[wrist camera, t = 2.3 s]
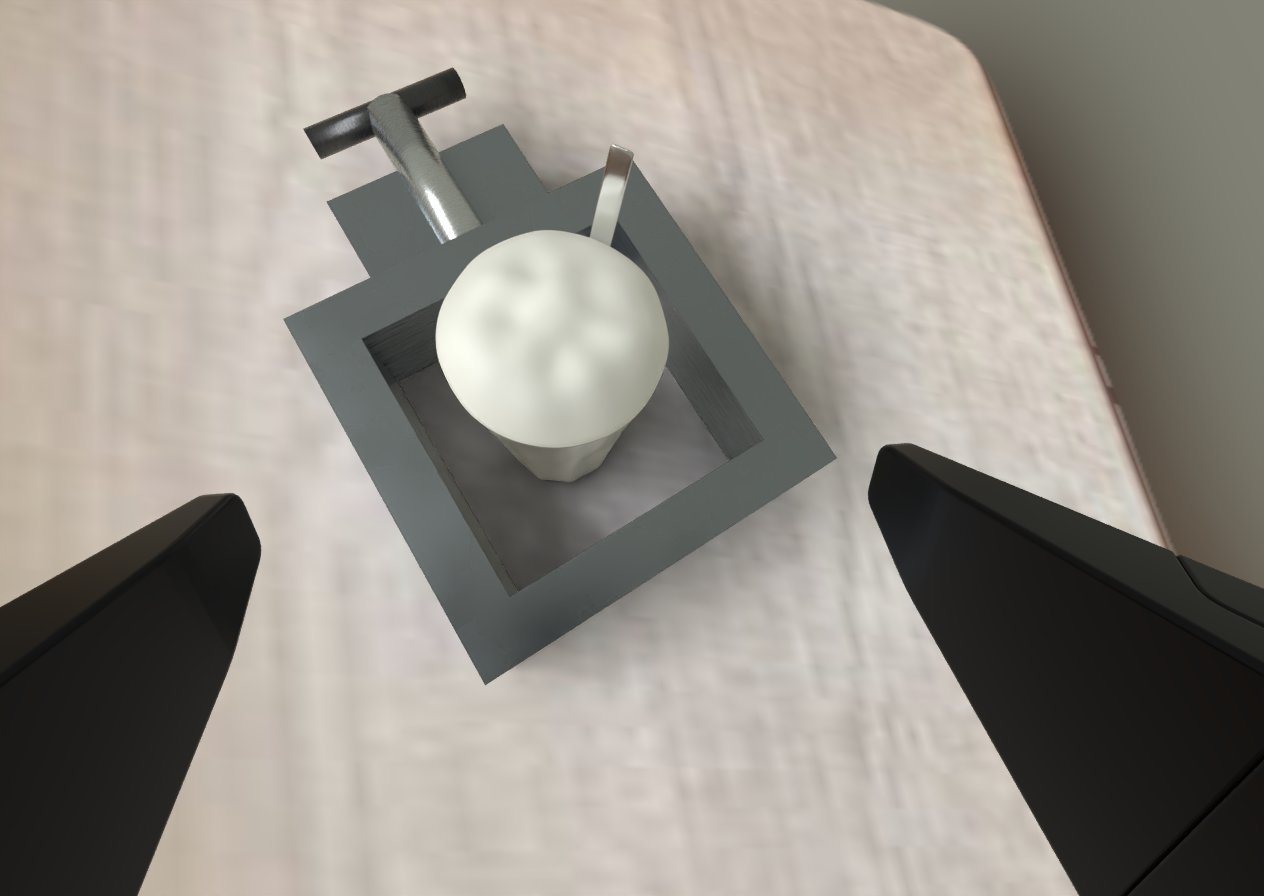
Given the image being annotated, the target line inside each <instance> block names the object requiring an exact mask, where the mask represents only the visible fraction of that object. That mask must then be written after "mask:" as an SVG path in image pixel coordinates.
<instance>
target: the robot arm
mask: <svg viewBox="0 0 1264 896" xmlns="http://www.w3.org/2000/svg"><path fill="white" fill-rule="evenodd" d="M868 500H869V504H870V507H871V509H872V512H873V514H874V516H875V519H876V521H877V523H878V526H879V528H880V530H881V533H882V535H883V537H884V540H885V542H886V544H887V547H888V549H889V551H890V554H891V556H892V558H893V561H894V563H895V565H896V568H897V570H898V572H899V575H900V577H901V579H902V581H903V583H904V585H905V588H906V590H907V592H908V593H909V595H910V597H911V599H912V601H913V603H914V605H915V606H916V608H917V610H918V612H919V614H920V615H921V617H922V619H923V621H924V622H925V624H926V626H927V628H928V629H929V631H930V633H931V635H932V637H933V638H934V640H935V642H936V644H937V645H938V647H939V649H940V651H941V652H942V654H943V656H944V658H945V660H946V661H947V663H948V665H949V667H950V668H951V670H952V672H953V674H954V675H955V677H956V679H957V681H958V683H959V684H960V686H961V688H962V690H963V691H964V693H965V695H966V697H967V698H968V700H969V702H970V704H971V706H972V707H973V709H974V711H975V713H976V714H977V716H978V718H979V720H980V721H981V723H982V725H983V727H984V729H985V730H986V732H987V734H988V736H989V737H990V739H991V741H992V743H993V744H994V746H995V748H996V750H997V752H998V753H999V755H1000V757H1001V759H1002V760H1003V762H1004V764H1005V766H1006V767H1007V769H1008V771H1009V773H1010V775H1011V776H1012V778H1013V780H1014V782H1015V783H1016V785H1017V787H1018V789H1019V790H1020V792H1021V794H1022V796H1023V798H1024V799H1025V801H1026V803H1027V805H1028V806H1029V808H1030V810H1031V812H1032V813H1033V815H1034V817H1035V819H1036V821H1037V822H1038V824H1039V826H1040V828H1041V829H1042V831H1043V833H1044V835H1045V836H1046V838H1047V840H1048V842H1049V844H1050V845H1051V847H1052V849H1053V851H1054V852H1055V854H1056V856H1057V858H1058V859H1059V861H1060V863H1061V865H1062V867H1063V868H1064V870H1065V872H1066V874H1067V875H1068V877H1069V879H1070V881H1071V882H1072V884H1073V886H1074V888H1075V890H1076V891H1077V893H1078V895H1079V896H1264V589H1263V588H1261V587H1258V586H1255V585H1253V584H1251V583H1248V582H1246V581H1244V580H1241V579H1239V578H1236V577H1234V576H1231V575H1229V574H1226V573H1223V572H1221V571H1219V570H1216V569H1214V568H1211V567H1209V566H1206V565H1204V564H1202V563H1199V562H1197V561H1194V560H1192V559H1190V558H1187V557H1185V556H1182V555H1177V556H1175V554H1174V553H1173V552H1172V551H1170V550H1168V549H1165V548H1163V547H1160V546H1158V545H1155V544H1153V543H1151V542H1148V541H1146V540H1143V539H1141V538H1139V537H1136V536H1134V535H1131V534H1129V533H1127V532H1124V531H1122V530H1119V529H1117V528H1114V527H1112V526H1110V525H1107V524H1105V523H1102V522H1100V521H1098V520H1095V519H1093V518H1090V517H1088V516H1085V515H1083V514H1081V513H1078V512H1076V511H1073V510H1071V509H1069V508H1066V507H1064V506H1061V505H1059V504H1057V503H1054V502H1052V501H1049V500H1047V499H1044V498H1042V497H1040V496H1037V495H1035V494H1032V493H1030V492H1028V491H1025V490H1023V489H1020V488H1018V487H1015V486H1013V485H1011V484H1008V483H1006V482H1003V481H1001V480H999V479H996V478H994V477H991V476H989V475H987V474H984V473H982V472H979V471H977V470H974V469H972V468H970V467H967V466H965V465H962V464H960V463H958V462H955V461H953V460H950V459H948V458H946V457H943V456H941V455H938V454H936V453H933V452H931V451H929V450H926V449H924V448H921V447H919V446H917V445H914V444H911V443H902V444H889V445H885V446H883V447H882V448H881V449H880V451H879V453H878V455H877V459H876V463H875V466H874V470H873V474H872V478H871V481H870V485H869V490H868ZM260 557H261V544H260V540H259V537H258V535H257V532H256V530H255V528H254V525H253V523H252V521H251V518H250V516H249V514H248V511H247V509H246V507H245V505H244V503H243V501H242V499H241V498H240V497H239V496H238V495H236V494H233V493H224V494H210V495H202V496H199V497H197V498H195V499H193V500H191V501H190V502H188V503H186V504H184V505H182V506H181V507H179V508H177V509H175V510H174V511H172V512H170V513H168V514H166V515H165V516H163V517H161V518H159V519H157V520H156V521H154V522H152V523H150V524H148V525H147V526H145V527H143V528H141V529H140V530H138V531H136V532H134V533H132V534H131V535H129V536H127V537H125V538H123V539H122V540H120V541H118V542H116V543H114V544H113V545H111V546H109V547H107V548H105V549H104V550H102V551H100V552H98V553H97V554H95V555H93V556H91V557H89V558H88V559H86V560H84V561H82V562H80V563H79V564H77V565H75V566H73V567H71V568H70V569H68V570H66V571H64V572H63V573H61V574H59V575H57V576H55V577H54V578H52V579H50V580H48V581H46V582H45V583H43V584H41V585H39V586H37V587H36V588H34V589H32V590H30V591H28V592H27V593H25V594H23V595H21V596H20V597H18V598H16V599H14V600H12V601H11V602H9V603H7V604H5V605H3V606H2V607H0V896H138V893H139V891H140V888H141V886H142V883H143V881H144V878H145V876H146V873H147V871H148V868H149V866H150V863H151V861H152V858H153V856H154V854H155V851H156V849H157V846H158V844H159V841H160V839H161V836H162V834H163V831H164V829H165V826H166V824H167V821H168V819H169V816H170V814H171V811H172V809H173V806H174V804H175V801H176V799H177V796H178V794H179V791H180V789H181V787H182V784H183V782H184V779H185V777H186V774H187V772H188V769H189V767H190V764H191V762H192V759H193V757H194V754H195V752H196V749H197V747H198V744H199V742H200V739H201V737H202V734H203V732H204V729H205V727H206V724H207V722H208V720H209V717H210V715H211V712H212V710H213V707H214V705H215V702H216V700H217V697H218V695H219V692H220V690H221V687H222V685H223V682H224V680H225V677H226V675H227V672H228V669H229V667H230V664H231V661H232V659H233V655H234V652H235V649H236V646H237V643H238V639H239V635H240V632H241V628H242V624H243V621H244V617H245V613H246V609H247V606H248V602H249V598H250V595H251V591H252V587H253V584H254V580H255V576H256V573H257V569H258V565H259V562H260Z"/></svg>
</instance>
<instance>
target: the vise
mask: <svg viewBox="0 0 1264 896" xmlns="http://www.w3.org/2000/svg"><path fill="white" fill-rule="evenodd" d="M465 98H466V93H465V89H464V86H463V84H462V82H461V79H460V77H459V75H458V74H457V72H456V70H455V69H454V68H450V69H448V70H445V71H443V72H440V73H438V74H435V75H433V76H430V77H428V78H426V79H423V80H421V81H418V82H416V83H413V84H411V85H409V86H406V87H404V88H401V89H399V90H396V91H394V92H392V93H389V94H383V95H380V96H378V97H377V98H375V99H374V100H372V101H370V102H367V103H365V104H362V105H360V106H357V107H355V108H353V109H350V110H348V111H345V112H343V113H340V114H338V115H336V116H333V117H331V118H328V119H326V120H323V121H321V122H319V123H316V124H314V125H311V126H309V127H306V128H304V131H305V133H306V135H307V136H308V138H309V140H310V141H311V143H312V145H313V147H314V148H315V150H316V152H317V153H318V155H319V157H320V158H321V159H323V158H326V157H328V156H330V155H333V154H335V153H338V152H340V151H342V150H345V149H347V148H349V147H352V146H354V145H356V144H359V143H361V142H363V141H366V140H368V139H371V138H373V137H375V136H376V138H377V139H378V141H379V143H380V144H381V146H382V147H383V149H384V151H385V152H386V154H387V156H388V157H389V159H390V161H391V162H392V164H393V165H394V167H395V169H396V170H397V171H396V172H393V173H391V174H389V175H386V176H384V177H382V178H380V179H377V180H375V181H373V182H371V183H368V184H366V185H364V186H361V187H359V188H357V189H355V190H352V191H350V192H348V193H346V194H343V195H341V196H339V197H336V198H334V199H332V200H330V201H327V204H328V205H329V207H330V209H331V210H332V212H333V214H334V216H335V217H336V219H337V221H338V222H339V224H340V226H341V227H342V229H343V231H344V233H345V234H346V236H347V238H348V239H349V241H350V243H351V245H352V246H353V248H354V250H355V251H356V253H357V255H358V257H359V258H360V260H361V262H362V263H363V265H364V267H365V269H366V270H367V272H368V274H369V275H370V277H371V278H369V279H367V280H365V281H363V282H361V283H358V284H356V285H354V286H352V287H350V288H348V289H346V290H344V291H342V292H339V293H337V294H335V295H333V296H331V297H329V298H327V299H325V300H323V301H321V302H318V303H316V304H314V305H312V306H310V307H308V308H306V309H304V310H302V311H299V312H297V313H295V314H293V315H291V316H289V317H287V318H285V319H283V320H284V321H285V323H286V325H287V327H288V329H289V330H290V332H291V334H292V336H293V338H294V340H295V341H296V343H297V345H298V347H299V349H300V350H301V352H302V354H303V356H304V358H305V359H306V361H307V363H308V365H309V367H310V368H311V370H312V372H313V374H314V376H315V378H316V379H317V381H318V383H319V385H320V387H321V388H322V390H323V392H324V394H325V396H326V397H327V399H328V401H329V403H330V405H331V407H332V408H333V410H334V412H335V414H336V416H337V417H338V419H339V421H340V423H341V425H342V426H343V428H344V430H345V432H346V434H347V436H348V437H349V439H350V441H351V443H352V445H353V446H354V448H355V450H356V452H357V454H358V455H359V457H360V459H361V461H362V463H363V465H364V466H365V468H366V470H367V472H368V474H369V475H370V477H371V479H372V481H373V483H374V484H375V486H376V488H377V490H378V492H379V494H380V495H381V497H382V499H383V501H384V503H385V504H386V506H387V508H388V510H389V512H390V513H391V515H392V517H393V519H394V521H395V523H396V524H397V526H398V528H399V530H400V532H401V533H402V535H403V537H404V539H405V541H406V542H407V544H408V546H409V548H410V550H411V552H412V553H413V555H414V557H415V559H416V561H417V562H418V564H419V566H420V568H421V570H422V571H423V573H424V575H425V577H426V579H427V581H428V582H429V584H430V586H431V588H432V590H433V591H434V593H435V595H436V597H437V599H438V600H439V602H440V604H441V606H442V608H443V610H444V611H445V613H446V615H447V617H448V619H449V620H450V622H451V624H452V626H453V628H454V629H455V631H456V633H457V635H458V637H459V639H460V640H461V642H462V644H463V646H464V648H465V649H466V651H467V653H468V655H469V657H470V658H471V660H472V662H473V664H474V666H475V668H476V669H477V671H478V673H479V675H480V677H481V678H482V680H483V682H484V684H485V685H486V684H488V683H489V682H491V681H493V680H494V679H496V678H497V677H499V676H500V675H502V674H503V673H505V672H506V671H508V670H510V669H511V668H513V667H514V666H516V665H517V664H519V663H520V662H522V661H524V660H525V659H527V658H528V657H530V656H531V655H533V654H534V653H536V652H537V651H539V650H541V649H542V648H544V647H545V646H547V645H548V644H550V643H551V642H553V641H555V640H556V639H558V638H559V637H561V636H562V635H564V634H565V633H567V632H568V631H570V630H572V629H573V628H575V627H576V626H578V625H579V624H581V623H582V622H584V621H585V620H587V619H589V618H590V617H592V616H593V615H595V614H596V613H598V612H599V611H601V610H603V609H604V608H606V607H607V606H609V605H610V604H612V603H613V602H615V601H616V600H618V599H620V598H621V597H623V596H624V595H626V594H627V593H629V592H630V591H632V590H634V589H635V588H637V587H638V586H640V585H641V584H643V583H644V582H646V581H647V580H649V579H651V578H652V577H654V576H655V575H657V574H658V573H660V572H661V571H663V570H665V569H666V568H668V567H669V566H671V565H672V564H674V563H675V562H677V561H678V560H680V559H682V558H683V557H685V556H686V555H688V554H689V553H691V552H692V551H694V550H695V549H697V548H699V547H700V546H702V545H703V544H705V543H706V542H708V541H709V540H711V539H713V538H714V537H716V536H717V535H719V534H720V533H722V532H723V531H725V530H726V529H728V528H730V527H731V526H733V525H734V524H736V523H737V522H739V521H740V520H742V519H744V518H745V517H747V516H748V515H750V514H751V513H753V512H754V511H756V510H757V509H759V508H761V507H762V506H764V505H765V504H767V503H768V502H770V501H771V500H773V499H775V498H776V497H778V496H779V495H781V494H782V493H784V492H785V491H787V490H788V489H790V488H792V487H793V486H795V485H796V484H798V483H799V482H801V481H802V480H804V479H805V478H807V477H809V476H810V475H812V474H813V473H815V472H816V471H818V470H819V469H821V468H823V467H824V466H826V465H827V464H829V463H830V462H832V461H833V460H835V459H836V458H837V457H836V456H835V454H834V453H833V451H832V450H831V449H830V447H829V446H828V444H827V443H826V441H825V440H824V438H823V437H822V435H821V434H820V432H819V431H818V430H817V428H816V427H815V425H814V424H813V422H812V421H811V419H810V418H809V416H808V415H807V414H806V412H805V411H804V409H803V408H802V406H801V405H800V403H799V402H798V400H797V399H796V397H795V396H794V395H793V393H792V392H791V390H790V389H789V387H788V386H787V384H786V383H785V381H784V380H783V378H782V377H781V376H780V374H779V373H778V371H777V370H776V368H775V367H774V365H773V364H772V362H771V361H770V360H769V358H768V357H767V355H766V354H765V352H764V351H763V349H762V348H761V346H760V345H759V343H758V342H757V341H756V339H755V338H754V336H753V335H752V333H751V332H750V330H749V329H748V327H747V326H746V324H745V323H744V322H743V320H742V319H741V317H740V316H739V314H738V313H737V311H736V310H735V308H734V307H733V306H732V304H731V303H730V301H729V300H728V298H727V297H726V295H725V294H724V292H723V291H722V289H721V288H720V287H719V285H718V284H717V282H716V281H715V279H714V278H713V276H712V275H711V273H710V272H709V270H708V269H707V268H706V266H705V265H704V263H703V262H702V260H701V259H700V257H699V256H698V254H697V253H696V252H695V250H694V249H693V247H692V246H691V244H690V243H689V241H688V240H687V238H686V237H685V235H684V234H683V233H682V231H681V230H680V228H679V227H678V225H677V224H676V222H675V221H674V219H673V218H672V216H671V215H670V214H669V212H668V211H667V209H666V208H665V206H664V205H663V203H662V202H661V200H660V199H659V198H658V196H657V195H656V193H655V192H654V190H653V189H652V187H651V186H650V184H649V183H648V181H647V180H646V179H645V177H644V176H643V174H642V173H641V171H640V170H639V168H638V167H637V165H636V164H635V163H634V161H632V165H631V169H630V173H629V177H628V181H627V185H626V189H625V193H624V196H623V200H622V204H621V208H620V212H619V216H618V220H617V223H616V227H615V231H614V235H613V239H612V243H611V247H612V248H613V249H615V250H617V251H618V252H620V253H621V254H623V255H624V256H626V257H627V258H629V259H630V260H631V261H632V262H634V263H635V264H636V265H637V266H638V267H639V268H640V269H641V270H642V271H643V272H644V273H645V274H646V276H647V277H648V278H649V280H650V281H651V283H652V284H653V286H654V288H655V290H656V292H657V295H658V297H659V300H660V303H661V306H662V310H663V313H664V317H665V321H666V325H667V329H668V336H669V350H668V356H667V361H666V365H667V367H668V368H669V370H670V371H671V373H672V374H673V376H674V378H675V379H676V381H677V382H678V384H679V385H680V387H681V388H682V390H683V391H684V393H685V394H686V396H687V397H688V399H689V400H690V402H691V403H692V405H693V407H694V408H695V410H696V411H697V413H698V414H699V416H700V417H701V419H702V420H703V422H704V423H705V425H706V426H707V428H708V429H709V431H710V433H711V434H712V436H713V437H714V439H715V440H716V442H717V443H718V445H719V446H720V448H721V449H722V451H723V452H724V454H725V455H726V457H727V458H728V460H729V462H727V463H726V464H724V465H722V466H721V467H719V468H718V469H716V470H714V471H713V472H711V473H710V474H708V475H706V476H705V477H703V478H701V479H700V480H698V481H697V482H695V483H693V484H692V485H690V486H689V487H687V488H685V489H684V490H682V491H680V492H679V493H677V494H676V495H674V496H672V497H671V498H669V499H667V500H666V501H664V502H663V503H661V504H659V505H658V506H656V507H655V508H653V509H651V510H650V511H648V512H646V513H645V514H643V515H642V516H640V517H638V518H637V519H635V520H634V521H632V522H630V523H629V524H627V525H625V526H624V527H622V528H621V529H619V530H617V531H616V532H614V533H613V534H611V535H609V536H608V537H606V538H604V539H603V540H601V541H600V542H598V543H596V544H595V545H593V546H591V547H590V548H588V549H587V550H585V551H583V552H582V553H580V554H579V555H577V556H575V557H574V558H572V559H570V560H569V561H567V562H566V563H564V564H562V565H561V566H559V567H558V568H556V569H554V570H553V571H551V572H549V573H548V574H546V575H545V576H543V577H541V578H540V579H538V580H536V581H535V582H533V583H532V584H530V585H528V586H527V587H525V588H524V589H522V590H520V591H519V592H518V591H517V589H516V587H515V585H514V584H513V582H512V580H511V578H510V577H509V575H508V573H507V571H506V570H505V568H504V566H503V564H502V563H501V561H500V559H499V557H498V556H497V554H496V552H495V550H494V549H493V547H492V545H491V544H490V542H489V540H488V538H487V537H486V535H485V533H484V531H483V530H482V528H481V526H480V524H479V523H478V521H477V519H476V517H475V516H474V514H473V512H472V510H471V509H470V507H469V505H468V504H467V502H466V500H465V498H464V497H463V495H462V493H461V491H460V490H459V488H458V486H457V484H456V483H455V481H454V479H453V477H452V476H451V474H450V472H449V470H448V469H447V467H446V465H445V463H444V462H443V460H442V458H441V457H440V455H439V453H438V451H437V450H436V448H435V446H434V444H433V443H432V441H431V439H430V437H429V436H428V434H427V432H426V430H425V429H424V427H423V425H422V423H421V422H420V420H419V418H418V416H417V415H416V413H415V411H414V410H413V408H412V406H411V404H410V403H409V401H408V399H407V397H406V396H405V394H404V392H403V390H402V389H401V387H400V385H399V383H398V381H400V380H402V379H404V378H406V377H408V376H410V375H412V374H414V373H415V372H417V371H419V370H421V369H423V368H425V367H427V366H429V365H431V364H433V363H435V362H437V361H439V359H438V355H437V350H436V326H437V320H438V315H439V312H440V309H441V306H442V304H443V301H444V299H445V297H446V296H447V294H448V292H449V291H450V289H451V287H452V286H453V284H454V283H455V281H456V280H457V279H458V277H459V276H460V274H461V273H462V272H463V270H464V269H465V268H466V267H467V265H468V264H469V263H470V262H471V261H472V260H473V259H474V258H475V257H477V256H478V255H479V254H481V253H482V252H484V251H485V250H487V249H489V248H490V247H492V246H494V245H496V244H498V243H500V242H502V241H505V240H507V239H510V238H512V237H515V236H518V235H521V234H525V233H529V232H533V231H540V230H555V231H564V232H570V233H574V234H579V235H582V236H586V237H589V238H590V233H591V229H592V224H593V220H594V215H595V211H596V206H597V202H598V198H599V193H600V189H601V184H602V180H603V175H604V171H605V167H603V168H601V169H599V170H597V171H595V172H593V173H591V174H589V175H586V176H584V177H582V178H580V179H578V180H576V181H574V182H572V183H570V184H567V185H565V186H563V187H561V188H559V189H557V190H555V191H553V192H551V193H548V192H547V190H546V189H545V187H544V186H543V184H542V183H541V181H540V180H539V178H538V177H537V175H536V173H535V172H534V170H533V169H532V167H531V166H530V164H529V163H528V161H527V160H526V158H525V157H524V155H523V154H522V152H521V151H520V149H519V147H518V146H517V144H516V143H515V141H514V140H513V138H512V137H511V135H510V134H509V132H508V131H507V129H506V128H505V126H504V124H502V125H500V126H498V127H496V128H493V129H491V130H489V131H486V132H484V133H482V134H480V135H477V136H475V137H473V138H471V139H468V140H466V141H464V142H461V143H459V144H457V145H455V146H452V147H450V148H448V149H446V150H443V151H441V152H439V153H438V151H437V149H436V148H435V146H434V145H433V143H432V141H431V140H430V138H429V137H428V135H427V133H426V132H425V130H424V129H423V127H422V125H421V124H420V122H419V121H418V118H420V117H422V116H425V115H427V114H429V113H432V112H434V111H437V110H439V109H441V108H444V107H446V106H448V105H451V104H453V103H455V102H458V101H460V100H462V99H465Z"/></svg>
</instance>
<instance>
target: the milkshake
mask: <svg viewBox="0 0 1264 896" xmlns="http://www.w3.org/2000/svg"><path fill="white" fill-rule="evenodd" d="M633 155H634V154H633V152H632V151H630V150H627V149H625V148H623V147H621V146H618V145H616V144H612V145H611V146H610V149H609V153H608V158H607V162H606V166H605V171H604V175H603V180H602V184H601V189H600V193H599V198H598V202H597V206H596V211H595V215H594V220H593V224H592V229H591V233H590V238H589V237H586V236H582V235H579V234H574V233H570V232H564V231H555V230H540V231H533V232H529V233H525V234H521V235H518V236H515V237H512V238H510V239H507V240H505V241H502V242H500V243H498V244H496V245H494V246H492V247H490V248H489V249H487V250H485V251H484V252H482V253H481V254H479V255H478V256H477V257H475V258H474V259H473V260H472V261H471V262H470V263H469V264H468V265H467V267H466V268H465V269H464V270H463V272H462V273H461V274H460V276H459V277H458V279H457V280H456V281H455V283H454V284H453V286H452V287H451V289H450V291H449V292H448V294H447V296H446V297H445V299H444V301H443V304H442V306H441V309H440V312H439V315H438V320H437V326H436V350H437V355H438V359H439V363H440V365H441V368H442V370H443V373H444V375H445V377H446V379H447V381H448V383H449V385H450V387H451V389H452V390H453V392H454V394H455V395H456V397H457V398H458V400H459V401H460V403H461V404H462V405H463V406H464V408H465V409H466V410H467V411H468V412H469V413H470V414H471V415H472V416H473V417H474V418H475V419H476V420H478V421H479V422H480V423H481V424H482V425H483V426H484V427H485V428H486V429H488V430H489V431H490V432H491V433H492V434H493V435H494V436H495V437H497V438H498V439H499V440H500V441H501V442H502V443H503V444H504V445H505V446H506V447H507V449H508V450H509V451H510V452H511V453H512V454H513V456H514V457H515V458H516V459H517V460H519V461H520V462H521V463H522V464H523V465H524V466H525V467H526V468H528V469H529V470H530V471H531V472H532V473H533V474H534V475H535V476H536V477H538V478H539V479H542V480H552V481H561V482H570V483H571V482H573V481H575V480H577V479H579V478H580V477H582V476H584V475H586V474H587V473H589V472H591V471H593V470H595V469H596V468H598V467H599V466H600V465H601V463H602V462H603V460H604V459H605V457H606V456H607V454H608V453H609V451H610V450H611V448H612V447H613V445H614V444H615V442H616V441H617V439H618V438H619V436H620V435H621V433H622V432H623V431H624V429H625V428H626V427H627V426H628V425H629V423H630V422H631V421H632V420H633V419H634V417H635V416H636V415H637V414H638V413H639V412H640V411H641V410H642V409H643V408H644V406H645V405H646V404H647V402H648V401H649V399H650V398H651V396H652V394H653V393H654V391H655V389H656V387H657V385H658V383H659V380H660V378H661V376H662V373H663V370H664V367H665V364H666V361H667V356H668V350H669V336H668V329H667V325H666V321H665V317H664V313H663V310H662V306H661V303H660V300H659V297H658V295H657V292H656V290H655V288H654V286H653V284H652V283H651V281H650V280H649V278H648V277H647V276H646V274H645V273H644V272H643V271H642V270H641V269H640V268H639V267H638V266H637V265H636V264H635V263H634V262H632V261H631V260H630V259H629V258H627V257H626V256H624V255H623V254H621V253H620V252H618V251H617V250H615V249H613V248H612V247H611V243H612V239H613V235H614V231H615V227H616V223H617V220H618V216H619V212H620V208H621V204H622V200H623V196H624V193H625V189H626V185H627V181H628V177H629V173H630V169H631V165H632V161H633Z"/></svg>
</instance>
